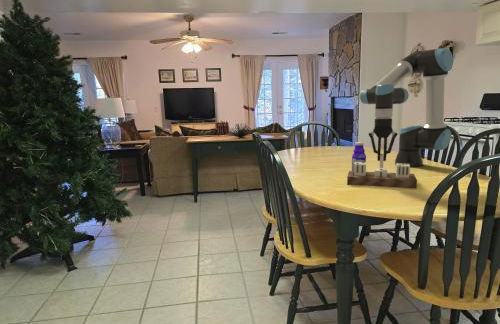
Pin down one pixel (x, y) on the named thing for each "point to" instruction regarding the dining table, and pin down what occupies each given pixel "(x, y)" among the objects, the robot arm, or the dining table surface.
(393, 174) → the keyboard base
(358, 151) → the bottle
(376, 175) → the cream block
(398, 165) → the key three
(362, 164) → the key two
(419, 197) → the dining table surface
